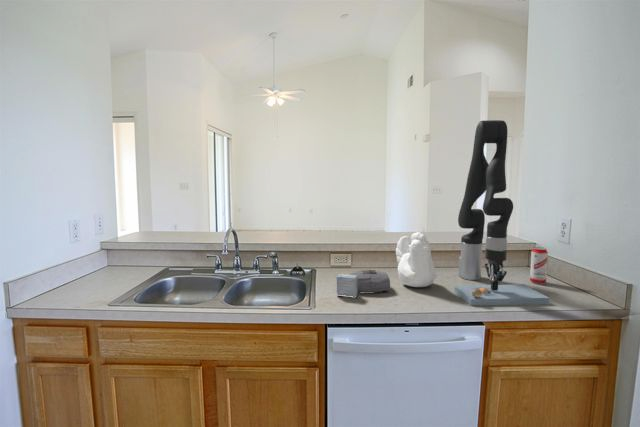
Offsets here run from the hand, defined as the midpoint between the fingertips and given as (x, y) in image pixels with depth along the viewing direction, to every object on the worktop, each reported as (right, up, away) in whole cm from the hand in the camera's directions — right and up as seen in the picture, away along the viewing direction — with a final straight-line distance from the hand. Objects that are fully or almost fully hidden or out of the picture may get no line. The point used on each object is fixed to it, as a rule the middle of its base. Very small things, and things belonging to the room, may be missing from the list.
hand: (494, 289), depth 138 cm
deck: (+2, -3, 0) cm, 4 cm away
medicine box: (-59, -4, +5) cm, 59 cm away
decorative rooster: (-27, -2, +21) cm, 34 cm away
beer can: (+29, -1, +18) cm, 34 cm away
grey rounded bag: (-50, -3, +13) cm, 52 cm away
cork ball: (-10, 0, -6) cm, 12 cm away
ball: (-5, -1, 0) cm, 5 cm away
